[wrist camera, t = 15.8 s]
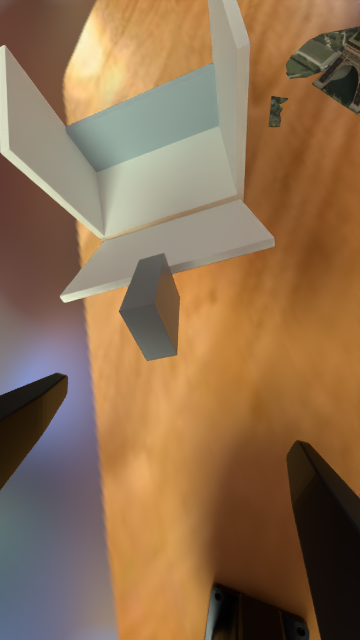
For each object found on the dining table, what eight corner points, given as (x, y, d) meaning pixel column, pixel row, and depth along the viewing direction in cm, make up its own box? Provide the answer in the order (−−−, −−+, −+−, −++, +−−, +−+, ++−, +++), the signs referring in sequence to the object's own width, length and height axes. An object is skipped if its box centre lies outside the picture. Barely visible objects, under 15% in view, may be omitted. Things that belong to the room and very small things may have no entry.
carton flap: (243, 223, 22) (312, 328, 10) (113, 261, 24) (42, 381, 12) (238, 188, 20) (315, 263, 8) (99, 233, 22) (0, 340, 11)
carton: (243, 203, 22) (250, 43, 11) (107, 245, 24) (0, 152, 13) (224, 132, 23) (214, -70, 12) (98, 179, 26) (-3, 48, 15)
